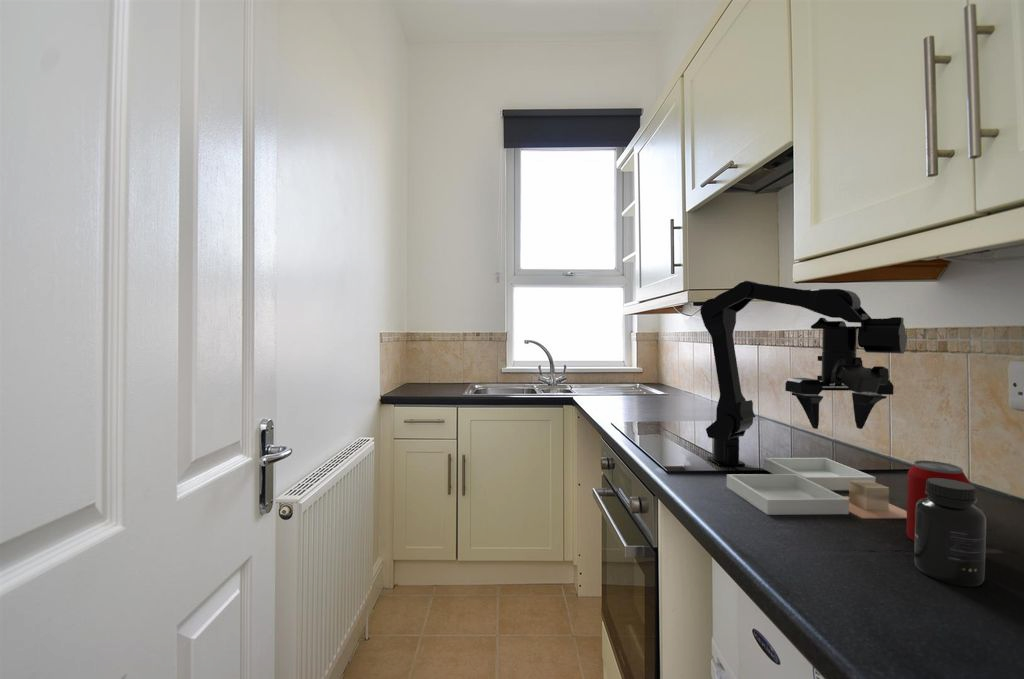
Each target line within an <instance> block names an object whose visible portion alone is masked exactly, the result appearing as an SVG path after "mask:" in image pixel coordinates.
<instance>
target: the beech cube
mask: <svg viewBox="0 0 1024 679" xmlns="http://www.w3.org/2000/svg"><path fill="white" fill-rule="evenodd" d="M848 497H849V503H851V504H853V505H855V506H857V507H859V508H861V509H863V510H865V511H889V504H890V487H888V486H885V485H883V484H881V483H877V482H876V481H875V482H873V481H849V490H848Z"/></svg>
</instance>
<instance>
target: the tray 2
mask: <svg viewBox="0 0 1024 679" xmlns="http://www.w3.org/2000/svg"><path fill="white" fill-rule="evenodd" d="M763 470H764V471H767V472H768V473H769V474H797V475H799V476H801V477H803V478H806V479H808V480H810V481H812V482H814V483H816V484H818V485H820V486H822V487H824V488H826V489H828V490H831V491H849V481H873V482H876V476H873V475H871V474H868V473H866V472H863V471H860V470H857V469H856V468H853V467H850V466H848V465H845V464H842V463H840V462H837V461H835V460H833V459H829V458H828V457H764V458H763Z"/></svg>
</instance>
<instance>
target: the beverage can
mask: <svg viewBox="0 0 1024 679" xmlns="http://www.w3.org/2000/svg"><path fill="white" fill-rule="evenodd" d="M929 478H942V479H950V480H955V481H960V482H964V483H967V484H970V481H969V478H968V477H967V476H966V474H965V472H964V471H963V468H962V467H960V466H958V465H955V464H951V463H947V462H942V461H934V460H915V461H913V465H912V466H911V467H910V469H909V470H908V471H907V486H906V487H907V490H906V491H907V492H906V511H907V518H906V536H907V537H908V538H909V539H910V540H911V541H913V542H914V543H915V508H916V503H917V502H918V501H919V500H920V499H922V498H925V497H928V495H926V494H925V489H926V480H927V479H929Z"/></svg>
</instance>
